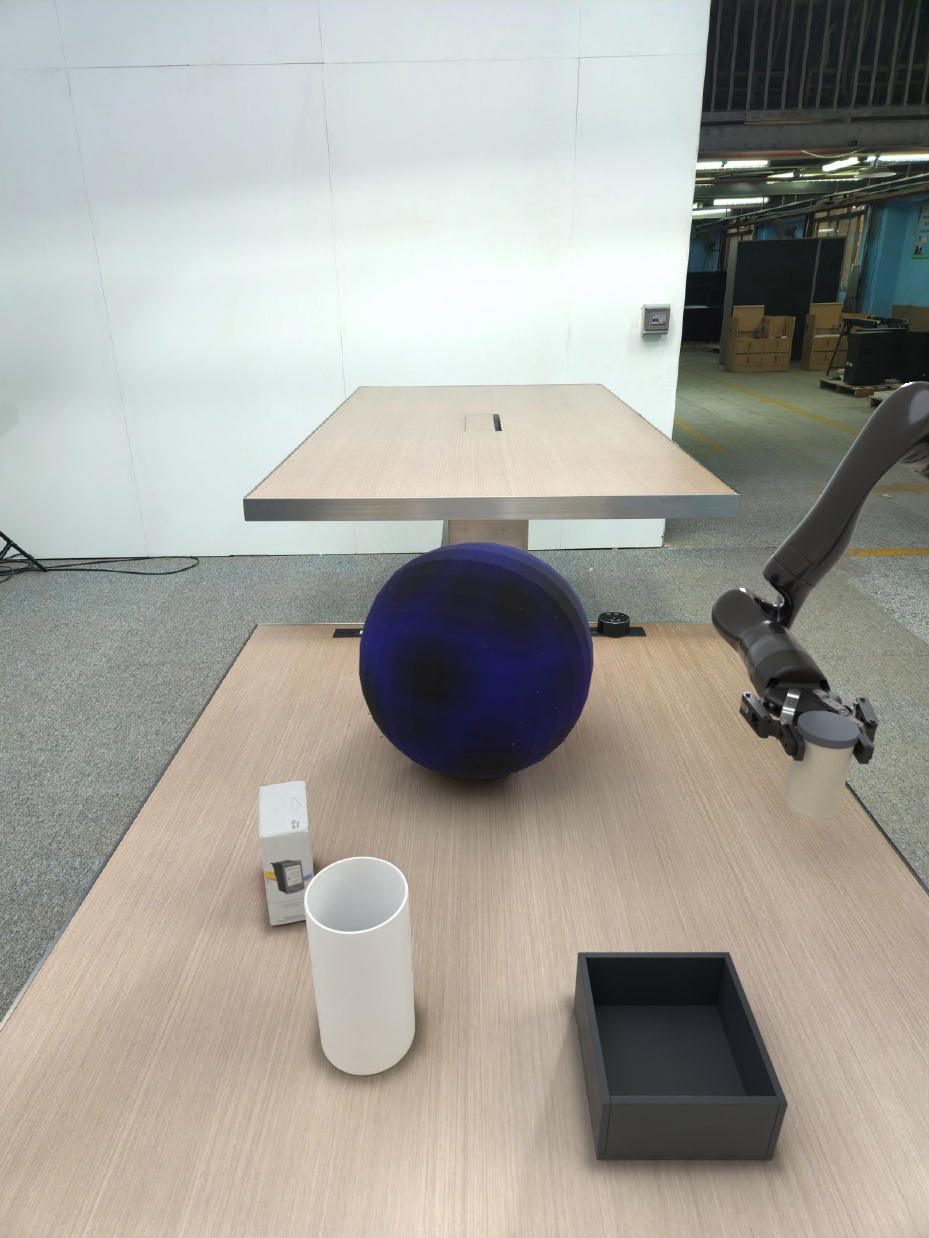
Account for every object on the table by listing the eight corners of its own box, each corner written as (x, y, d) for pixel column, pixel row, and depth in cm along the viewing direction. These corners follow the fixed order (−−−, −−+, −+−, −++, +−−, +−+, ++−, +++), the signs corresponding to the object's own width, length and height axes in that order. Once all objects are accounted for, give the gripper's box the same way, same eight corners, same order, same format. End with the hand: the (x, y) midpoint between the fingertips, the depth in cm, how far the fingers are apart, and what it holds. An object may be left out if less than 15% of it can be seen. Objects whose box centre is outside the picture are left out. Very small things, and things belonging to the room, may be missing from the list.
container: (826, 786, 84) (844, 710, 80) (850, 821, 78) (870, 740, 74) (774, 787, 84) (789, 710, 80) (794, 821, 79) (812, 741, 74)
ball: (296, 791, 97) (269, 574, 84) (394, 678, 123) (384, 501, 111) (560, 850, 86) (574, 612, 74) (604, 713, 113) (619, 522, 101)
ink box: (268, 869, 84) (255, 783, 79) (314, 861, 85) (304, 776, 80) (269, 929, 76) (255, 838, 71) (320, 920, 77) (309, 829, 72)
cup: (403, 1082, 62) (394, 940, 55) (307, 1067, 63) (287, 926, 56) (423, 996, 69) (418, 861, 62) (337, 984, 70) (323, 851, 63)
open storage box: (719, 1004, 68) (729, 951, 65) (772, 1159, 56) (788, 1103, 53) (573, 1004, 68) (577, 951, 65) (596, 1159, 56) (602, 1103, 53)
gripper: (727, 645, 90) (766, 720, 75) (852, 649, 89) (917, 726, 73) (719, 699, 93) (754, 782, 78) (839, 704, 92) (899, 789, 76)
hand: (833, 754), depth 76 cm, fingers closed on container, 5 cm apart
